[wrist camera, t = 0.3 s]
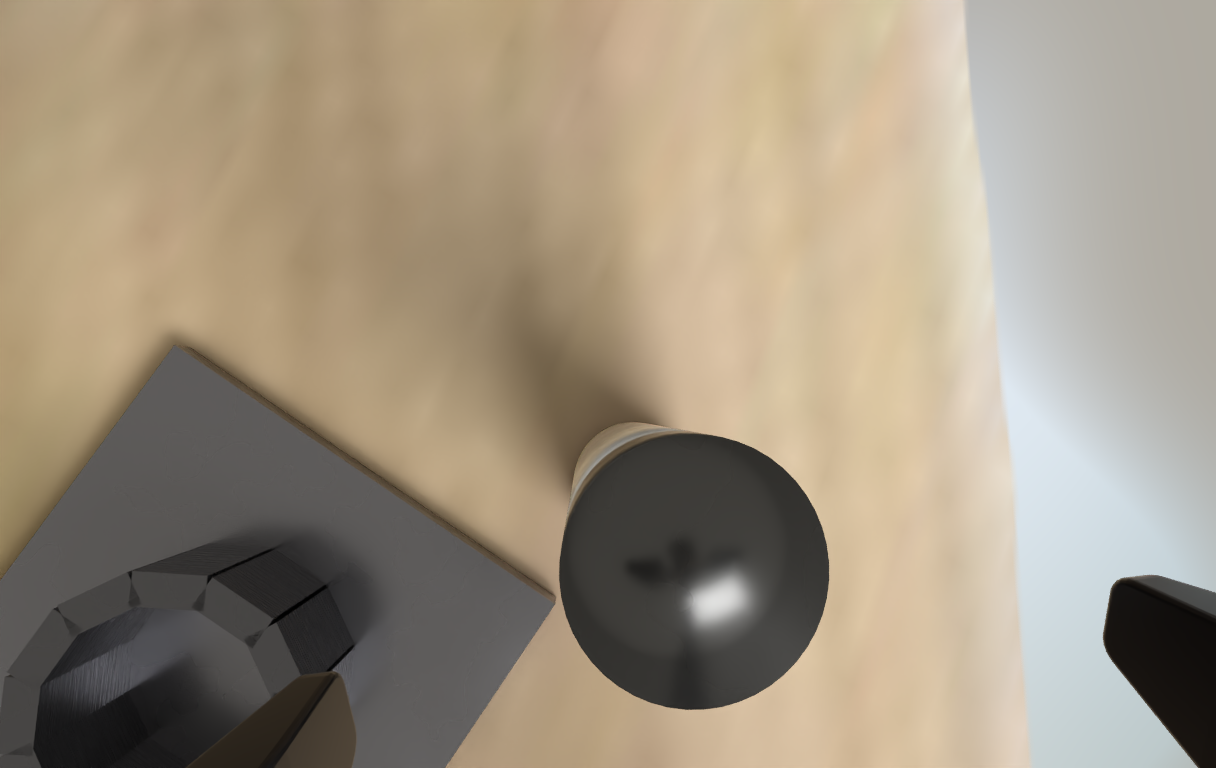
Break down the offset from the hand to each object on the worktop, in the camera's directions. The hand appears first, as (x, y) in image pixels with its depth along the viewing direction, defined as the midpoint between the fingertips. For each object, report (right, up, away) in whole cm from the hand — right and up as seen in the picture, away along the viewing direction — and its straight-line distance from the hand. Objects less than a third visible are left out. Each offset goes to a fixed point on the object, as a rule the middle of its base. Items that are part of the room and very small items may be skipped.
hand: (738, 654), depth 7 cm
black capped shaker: (-1, 0, +15) cm, 15 cm away
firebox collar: (-14, -7, +14) cm, 21 cm away
